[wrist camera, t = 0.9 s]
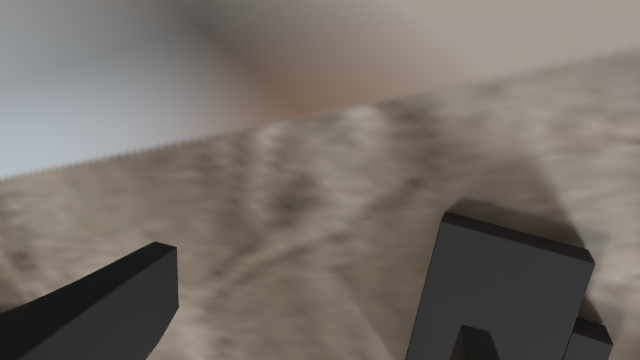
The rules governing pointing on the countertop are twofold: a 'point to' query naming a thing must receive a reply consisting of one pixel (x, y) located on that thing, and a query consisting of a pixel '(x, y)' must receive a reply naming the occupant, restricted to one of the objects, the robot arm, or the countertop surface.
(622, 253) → the countertop surface
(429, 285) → the tab pad
